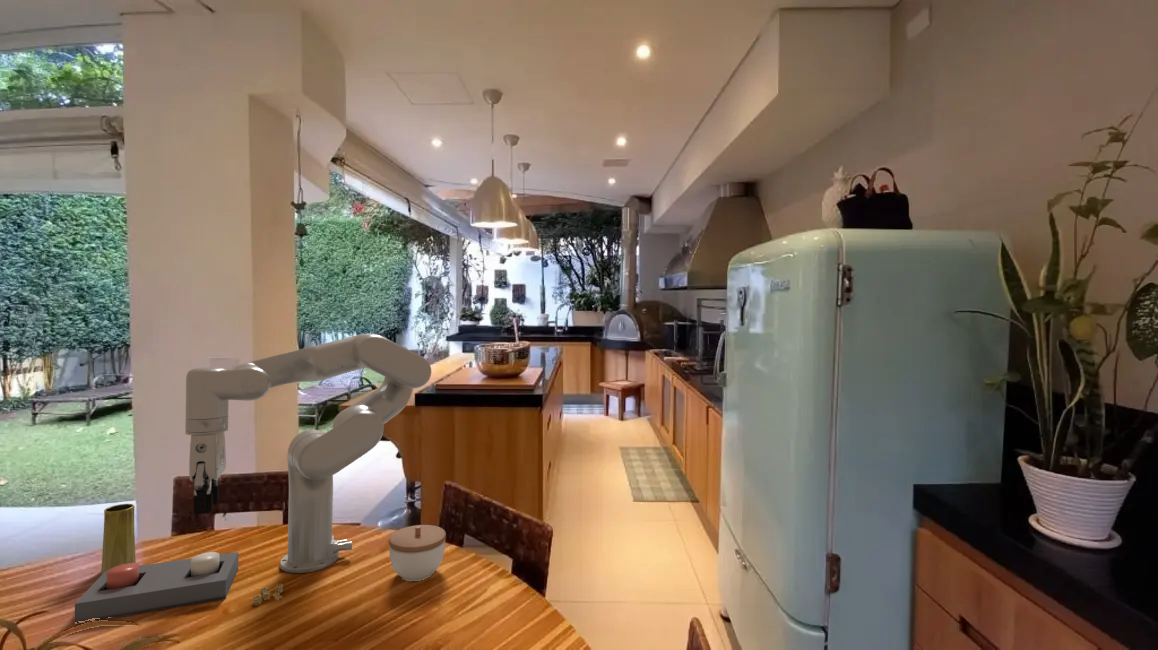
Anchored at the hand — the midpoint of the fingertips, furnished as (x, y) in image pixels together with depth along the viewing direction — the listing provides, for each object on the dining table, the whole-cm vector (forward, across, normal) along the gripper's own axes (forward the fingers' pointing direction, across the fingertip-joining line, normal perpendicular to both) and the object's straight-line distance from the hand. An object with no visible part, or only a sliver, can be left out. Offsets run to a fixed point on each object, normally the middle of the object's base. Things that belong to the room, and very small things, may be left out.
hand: (206, 507), depth 112 cm
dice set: (+18, -9, -13) cm, 24 cm away
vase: (+18, +17, +20) cm, 32 cm away
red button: (+14, 0, +14) cm, 20 cm away
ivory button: (+14, 0, 0) cm, 14 cm away
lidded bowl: (+18, -11, -43) cm, 48 cm away
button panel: (+17, 0, +7) cm, 19 cm away
